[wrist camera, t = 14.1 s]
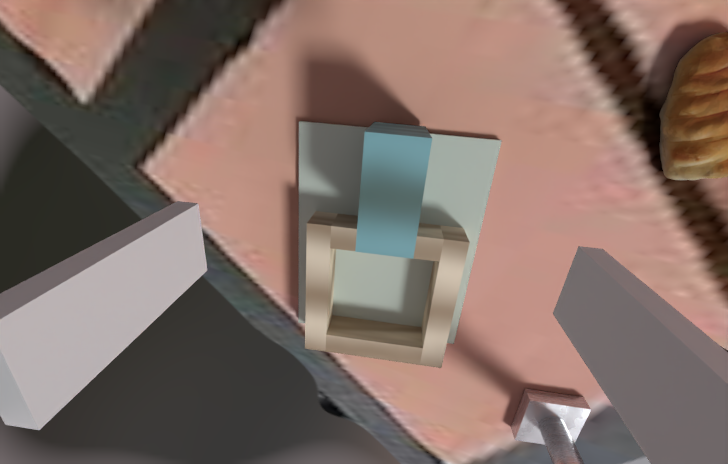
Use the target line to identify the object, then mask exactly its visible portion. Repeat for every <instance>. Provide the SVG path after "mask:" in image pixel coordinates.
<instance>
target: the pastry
mask: <svg viewBox="0 0 728 464" xmlns="http://www.w3.org/2000/svg"><path fill="white" fill-rule="evenodd" d="M659 117H660V119H661V126H660V144H659V146H660V159H661V162H662V169H663V172H664V175H665V176H666V177H667V178H670V179H673V180H698V179H701V178H723V177H728V32H722V33H718V34H714V35H711V36H709V37H706V38H705V39H703V40H701V41H700V42H699V43H697V44H696V45H695V46H694V47H693V48H691V49H690V50H689V51H688V52H687V53H686V54H685V55H684V56H683V57H682V58H681V60H680V61H679V63H678V65H677V68H676V69H675V72H674V79H673V81H672V85H671V87H670V90H669V92H668V95H667V98H666V101H665V102H664V104H663V106H662V108H661V111H660V114H659Z"/></svg>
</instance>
